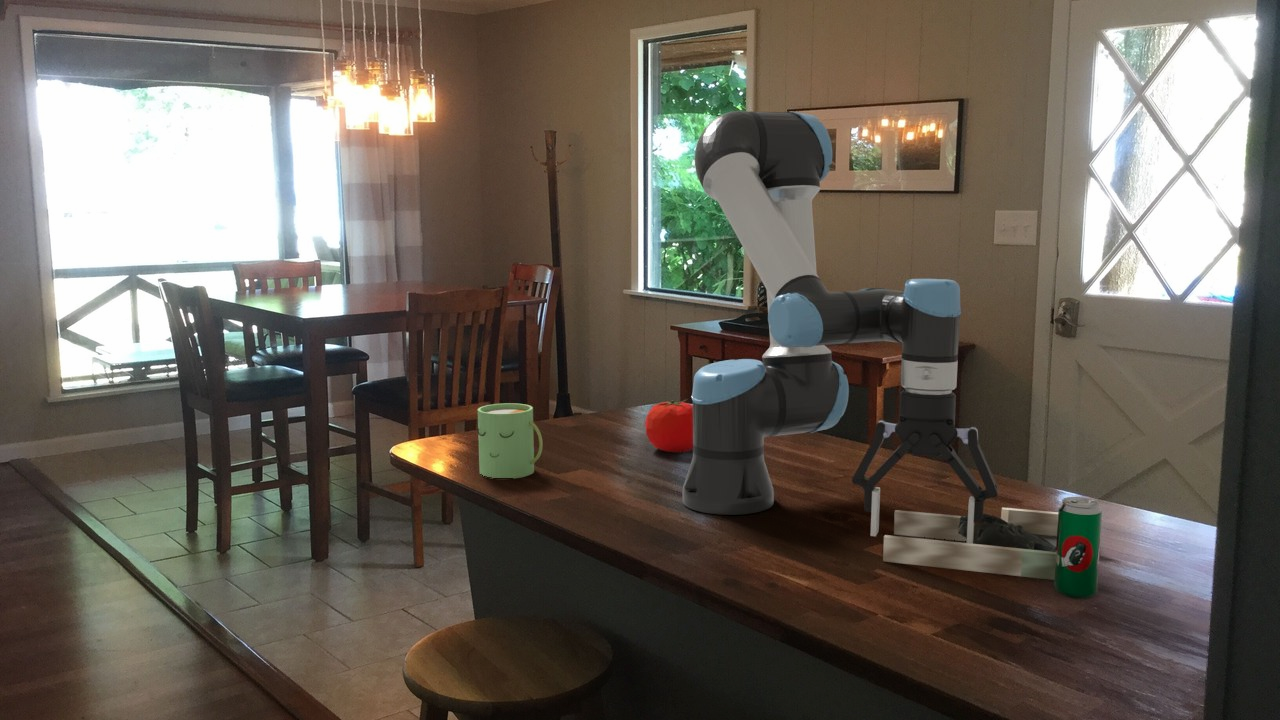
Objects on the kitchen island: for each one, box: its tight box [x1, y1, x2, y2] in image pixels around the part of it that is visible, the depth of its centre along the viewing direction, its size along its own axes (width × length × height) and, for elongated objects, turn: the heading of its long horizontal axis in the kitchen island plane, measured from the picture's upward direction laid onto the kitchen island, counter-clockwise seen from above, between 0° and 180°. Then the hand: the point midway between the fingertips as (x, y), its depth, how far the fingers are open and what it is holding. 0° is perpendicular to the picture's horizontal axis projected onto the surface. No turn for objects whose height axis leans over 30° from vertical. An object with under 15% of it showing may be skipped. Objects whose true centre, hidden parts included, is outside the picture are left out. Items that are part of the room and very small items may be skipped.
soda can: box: [1053, 496, 1103, 599], centre depth 133 cm, size 5×5×12 cm
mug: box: [477, 402, 544, 479], centre depth 194 cm, size 13×10×12 cm
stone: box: [958, 513, 1056, 552], centre depth 148 cm, size 7×13×5 cm, turn 68°
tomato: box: [644, 398, 693, 453], centre depth 210 cm, size 12×12×10 cm
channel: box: [882, 507, 1058, 581], centre depth 150 cm, size 27×20×4 cm
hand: (921, 539), depth 149 cm, fingers open, 12 cm apart
